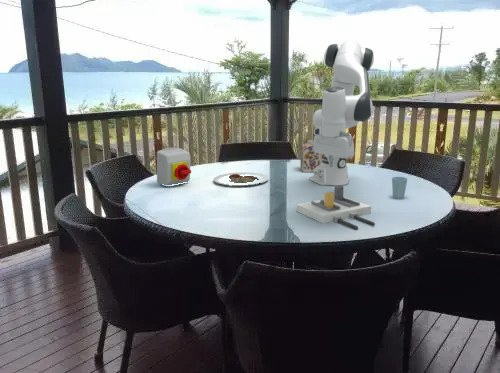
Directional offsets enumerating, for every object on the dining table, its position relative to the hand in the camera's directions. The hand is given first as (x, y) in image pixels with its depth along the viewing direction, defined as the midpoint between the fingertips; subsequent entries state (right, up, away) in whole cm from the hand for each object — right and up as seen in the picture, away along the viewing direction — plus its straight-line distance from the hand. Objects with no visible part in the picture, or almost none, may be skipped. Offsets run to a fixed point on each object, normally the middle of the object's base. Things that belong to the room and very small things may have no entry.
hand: (332, 167), depth 161 cm
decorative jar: (+5, +2, +91) cm, 91 cm away
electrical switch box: (-71, -7, +62) cm, 95 cm away
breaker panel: (+2, -18, +10) cm, 21 cm away
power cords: (+7, -21, -3) cm, 23 cm away
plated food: (-37, -5, +68) cm, 77 cm away
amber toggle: (0, -16, +6) cm, 17 cm away
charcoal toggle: (+5, -14, +16) cm, 22 cm away
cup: (+36, -13, +30) cm, 48 cm away
